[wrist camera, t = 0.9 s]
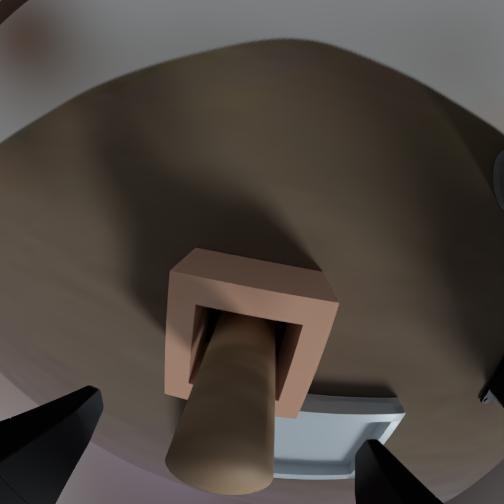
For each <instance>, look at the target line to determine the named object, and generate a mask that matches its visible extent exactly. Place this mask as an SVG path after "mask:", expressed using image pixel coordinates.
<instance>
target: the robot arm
mask: <svg viewBox="0 0 504 504" xmlns="http://www.w3.org/2000/svg"><path fill="white" fill-rule="evenodd" d="M480 401H481V403H482V404H484V403H489V402H493V401H499V403H500V404H501V405H502V407H503V408H504V359H503V361H502V363H501V365H500V367H499V369H498V371H497V372H496V374H495V376H494V378H493V379H492V381H491V383H490V384H489V386H488V388H487V389H486V391H485V392H484V394H483V395H482V397H481V399H480ZM102 411H103V401H102V396H101V392H100V390H99V389H98V388H95V387H93V386H90V385H89V386H86V387H84V388H81V389H79V390H77V391H74V392H72V393H70V394H68V395H65V396H63V397H61V398H58V399H56V400H53V401H51V402H49V403H46V404H44V405H41V406H39V407H37V408H34V409H32V410H29V411H27V412H24V413H21V414H19V415H16V416H14V417H11V419H10V418H8V419H6V420H3V421H0V504H55V503H56V502H57V500H58V498H59V496H60V494H61V492H62V490H63V488H64V487H65V485H66V483H67V481H68V479H69V477H70V476H71V474H72V472H73V470H74V468H75V466H76V465H77V463H78V461H79V459H80V458H81V456H82V454H83V452H84V451H85V449H86V447H87V445H88V443H89V441H90V439H91V437H92V434H93V432H94V430H95V427H96V425H97V422H98V420H99V418H100V416H101V413H102ZM435 497H436V496H435V495H434V494H433V493H432V492H430V491H429V490H428V489H427V488H426V487H425V486H424V485H423V484H422V483H421V482H420V481H419V480H418V479H417V478H416V477H415V476H414V475H413V474H412V473H411V472H410V471H409V470H408V469H407V468H406V467H405V466H404V465H403V464H402V463H401V462H400V461H399V460H398V459H397V458H396V457H395V456H394V455H393V454H392V453H391V452H390V451H389V450H388V449H387V448H386V447H385V446H384V445H383V444H382V443H381V442H380V441H379V440H377V439H367V440H365V441H364V442H363V444H362V445H361V447H360V448H359V449H358V451H357V452H356V454H355V499H356V504H443V503H442V502H441V501H440V500H439V499H438V498H437V497H436V498H435Z"/></svg>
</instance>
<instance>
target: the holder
mask: <svg viewBox="0 0 504 504" xmlns="http://www.w3.org/2000/svg"><path fill="white" fill-rule="evenodd" d="M338 306H339V301H338V299H337V297H336V295H335V294H334V292H333V290H332V288H331V286H330V284H329V282H328V280H327V278H326V277H325V275H324V273H323V272H321V271H316V270H310V269H305V268H300V267H294V266H289V265H284V264H279V263H273V262H268V261H263V260H258V259H252V258H247V257H242V256H237V255H232V254H226V253H221V252H216V251H211V250H206V249H201V248H195V249H194V250H192V251H191V252H190V253H189V254H188V255H187V256H186V257H184V258H183V259H182V260H181V261H180V262H179V263H178V264H177V265H176V266H174V267H173V268H172V269H171V270H170V275H169V288H168V302H167V319H166V344H165V394H168V395H171V396H175V397H179V398H182V399H186V400H188V397H189V395H190V392H191V389H192V387H193V384H194V382H195V379H196V376H197V374H198V371H199V369H200V366H201V363H202V361H203V358H204V356H205V353H206V350H207V348H208V345H209V343H210V342H206V334H207V326H208V318H209V311H210V308H215V309H220V310H224V311H229V312H234V313H239V314H244V315H250V316H255V317H260V318H266V319H271V320H277V321H283V322H287V326H286V329H285V333H284V337H283V340H282V344H281V348H280V351H279V355H275V417H283V418H292V419H296V418H297V416H298V414H299V411H300V409H301V407H302V404H303V402H304V400H305V397H306V395H307V392H308V390H309V387H310V385H311V382H312V380H313V377H314V375H315V372H316V370H317V367H318V364H319V362H320V359H321V356H322V353H323V351H324V348H325V345H326V342H327V339H328V336H329V334H330V331H331V328H332V325H333V322H334V318H335V315H336V312H337V309H338Z"/></svg>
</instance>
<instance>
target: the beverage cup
mask: <svg viewBox="0 0 504 504" xmlns="http://www.w3.org/2000/svg"><path fill="white" fill-rule="evenodd" d="M493 186H494V192H495V196H496V198H497V201H498V203H499V205H500V207H501V208H502V210H504V150H502V151H501V152H500V153H499V154H498V156H497V158H496V160H495V163H494V169H493Z"/></svg>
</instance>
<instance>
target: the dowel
mask: <svg viewBox="0 0 504 504" xmlns="http://www.w3.org/2000/svg"><path fill="white" fill-rule="evenodd" d="M274 439H275V320H271V319H266V318H260V317H255V316H250V315H244V314H239V313H234V312H229V311H224V310H222V312H221V314H220V317H219V319H218V322H217V325H216V327H215V330H214V332H213V335H212V338H211V340H210V343H209V345H208V348H207V350H206V353H205V356H204V358H203V361H202V363H201V366H200V369H199V371H198V374H197V376H196V379H195V382H194V384H193V387H192V389H191V392H190V395H189V397H188V400H187V403H186V405H185V408H184V410H183V413H182V416H181V418H180V421H179V424H178V426H177V429H176V431H175V434H174V437H173V439H172V442H171V445H170V447H169V450H168V453H167V455H166V458H165V462H166V465H167V468H168V469H169V470H170V472H171V473H172V474H173V475H174V476H176V477H177V478H178V479H180V480H181V481H183V482H185V483H187V484H189V485H191V486H193V487H195V488H198V489H201V490H204V491H208V492H212V493H218V494H226V495H241V494H249V493H254V492H257V491H260V490H262V489H264V488H266V487H267V486H269V485H270V484H271V482H272V481H273V476H274Z"/></svg>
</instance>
